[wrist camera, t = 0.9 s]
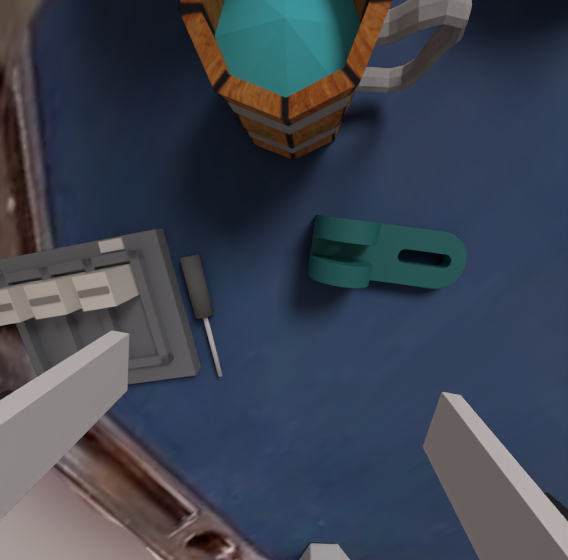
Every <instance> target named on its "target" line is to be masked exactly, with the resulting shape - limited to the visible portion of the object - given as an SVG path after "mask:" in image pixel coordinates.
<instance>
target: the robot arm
mask: <svg viewBox="0 0 568 560" xmlns="http://www.w3.org/2000/svg"><path fill="white" fill-rule="evenodd" d="M128 359H129V334H128V333H123V332H118V331H110V332H108V333H107V334H105V335H104V336H102V337H100V338H99V339H97V340H96V341H94V342H92V343H91V344H89V345H88V346H86V347H84V348H83V349H81V350H80V351H78V352H76V353H75V354H73V355H72V356H70V357H68V358H67V359H65V360H64V361H62V362H60V363H59V364H57V365H56V366H54V367H52V368H51V369H49V370H48V371H46V372H44V373H43V374H41V375H40V376H38V377H36V378H35V379H33V380H32V381H30V382H29V383H27V384H25V385H24V386H22V387H21V388H19V389H17V390H16V391H10V390H8V391H5V392H2V393H0V520H1V519H2V518H3V517H4V516H5V515H6V514H7V513H8V512H9V511H10V510H11V509H12V508H13V507H14V506H15V505H16V504H17V502H19V501H20V500H21V498H22V497H24V496H25V495H26V494H27V492H28V491H29V490H30V489H31V488H32V487H33V486H34V485H35V484H36V483H37V482H38V481H39V480H40V479H41V478H42V477H43V476H44V475H45V474H46V473H47V472H48V471H49V470H50V469H51V468H52V467H53V466H54V465H55V464H56V463H57V462H58V461H59V460H60V459H61V458H62V457H63V456H64V455H65V454H66V453H67V452H68V451H69V450H70V449H71V447H72V446H73V445H74V444H75V443H76V442H77V441H78V440H79V439H80V438H81V437H82V436H83V435H84V434H85V433H86V432H87V431H88V430H89V429H90V428H91V427H92V426H93V425H94V424H95V423H96V422H97V421H98V420H99V419H100V418H101V417H102V416H103V415H104V414H105V413H106V412H107V411H108V410H109V409H110V408H111V407H112V406H113V405H114V404H115V402H116V401H117V400H118V399H119V398H120V397H121V396H122V395H123V394H124V393H125V392H126V391H127V387H128ZM423 448H424V450H425V452H426V454H427V456H428V458H429V460H430V462H431V464H432V466H433V468H434V470H435V472H436V474H437V476H438V478H439V480H440V482H441V484H442V486H443V488H444V490H445V492H446V494H447V496H448V498H449V500H450V502H451V504H452V506H453V508H454V510H455V512H456V514H457V516H458V518H459V520H460V522H461V524H462V526H463V528H464V530H465V532H466V534H467V536H468V538H469V540H470V542H471V544H472V546H473V548H474V550H475V552H476V554H477V555H478V557H479V559H480V560H568V509H567V508H566V507H565V506H563V505H562V504H561V503H560V502H559V501H557V500H556V499H555V498H554V497H553V496H551V495H550V494H549V493H544V492H542V491H541V489H540V488H539V487H538V486H537V485H536V483H535V482H534V481H533V480H532V479H531V478H530V476H529V475H528V474H527V473H526V472H525V471H524V469H523V468H522V467H521V466H520V465H519V463H518V462H517V461H516V460H515V459H514V458H513V456H512V455H511V454H510V453H509V452H508V450H507V449H506V448H505V447H504V446H503V445H502V443H501V442H500V441H499V440H498V439H497V438H496V436H495V435H494V434H493V433H492V432H491V430H490V429H489V428H488V427H487V426H486V425H485V423H484V422H483V421H482V420H481V419H480V418H479V416H478V415H477V414H476V413H475V412H474V410H473V409H472V408H471V407H470V406H469V405H468V403H467V402H466V401H465V400H464V399H463V397H462V396H461V395H456V394H451V393H445V392H442V393H441V396H440V399H439V402H438V405H437V407H436V410H435V413H434V416H433V419H432V422H431V425H430V427H429V430H428V433H427V436H426V439H425V442H424V445H423Z"/></svg>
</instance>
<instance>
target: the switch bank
mask: <svg viewBox="0 0 568 560" xmlns="http://www.w3.org/2000/svg"><path fill="white" fill-rule="evenodd" d="M125 264H131V267H132V270H133V274H134V277H135V280H136V283H137V287H138V290H139V293H140V294H139V295H137V296H135V297H133V298H132V299H130V300H128V301H126V302H124V303H122V304H120V305H118V306H114V307H108V308H102V309H96V310H90V311H84V312H83V309H82V308H81V309H79V310H76V311H74V312H72V313H69V314H66V315H60V316H54V317H48V318H43V319H37V320H36V318H35V317H33V318H30V319H27V320H25V321H22V322H19V323H16V326H17V328H18V331H19V333H20V335H21V338H22V340H23V343H24V345H25V347H26V350H27V352H28V355H29V357H30V359H31V362H32V364H33V367H34V369H35V371H36V374H37V376H40V375H41V374H43V373H44V372H46V371H48V370H49V369H51V368H52V367H54V366H56V365H57V364H59V363H60V362H62V361H64V360H65V359H67V358H68V357H70V356H72V355H73V354H75V353H76V352H78V351H80V350H81V349H83V348H84V347H86V346H88V345H89V344H91V343H92V342H94V341H96V340H97V339H99V338H100V337H102V336H104V335H105V334H107V333H108V332H110V331H118V332H123V333H128V334H129V359H128V384H135V383H142V382H150V381H157V380H164V379H172V378H179V377H186V376H194V375H197V373H198V372H199V370H200V368H201V365H200V361H199V358H198V354H197V351H196V347H195V343H194V340H193V336H192V332H191V329H190V325H189V321H188V318H187V314H186V310H185V307H184V303H183V300H182V296H181V292H180V289H179V285H178V281H177V278H176V274H175V270H174V267H173V263H172V259H171V256H170V252H169V249H168V245H167V241H166V238H165V234H164V230H163V228H162V229H154V230H149V231H144V232H139V233H133V234H128V235H123V236H118V237H113V238H108V239H103V240H98V241H92V242H87V243H82V244H77V245H72V246H67V247H62V248H57V249H52V250H46V251H41V252H36V253H31V254H26V255H21V256H16V257H11V258H5V259H0V269H1V271H2V275H0V287H1V288H5V287H9V286H13V285H17V284H21V283H27V282H32V281H38V280H43V281H44V280H48V279H52V278H56V277H60V276H65V275H70V274H76V273H81V272H86V273H89V272H92V271H96V270H99V269H103V268H109V267H114V266H119V265H125Z"/></svg>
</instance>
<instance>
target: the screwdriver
mask: <svg viewBox="0 0 568 560" xmlns="http://www.w3.org/2000/svg"><path fill="white" fill-rule="evenodd" d="M180 262H181V266H182V269H183V273H184V277H185V280H186V284H187V288H188V292H189V295H190V299H191V303H192V307H193V310H194V314H195V318H196V319H202V318H203V320H204V324H205V328H206V331H207V335H208V339H209V343H210V347H211V350H212V354H213V358H214V362H215V366H216V370H217V373H218V377H221V376H222V371H221V367H220V363H219V359H218V355H217V351H216V348H215V344H214V340H213V336H212V332H211V328H210V324H209V320H208V317H209V316H211V315H213V314H214V312H213V308H212V304H211V300H210V296H209V292H208V288H207V284H206V280H205V276H204V272H203V268H202V264H201V260H200V256H199V254H195V255H189V256H185V257H181V258H180Z"/></svg>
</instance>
